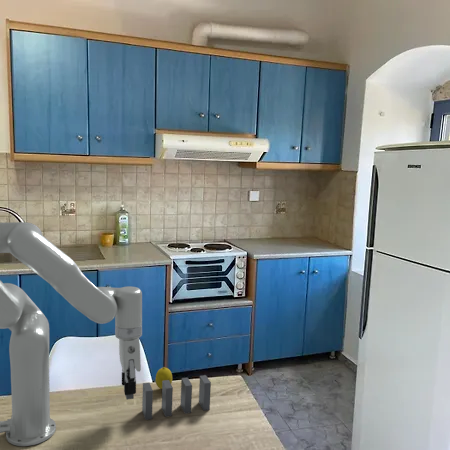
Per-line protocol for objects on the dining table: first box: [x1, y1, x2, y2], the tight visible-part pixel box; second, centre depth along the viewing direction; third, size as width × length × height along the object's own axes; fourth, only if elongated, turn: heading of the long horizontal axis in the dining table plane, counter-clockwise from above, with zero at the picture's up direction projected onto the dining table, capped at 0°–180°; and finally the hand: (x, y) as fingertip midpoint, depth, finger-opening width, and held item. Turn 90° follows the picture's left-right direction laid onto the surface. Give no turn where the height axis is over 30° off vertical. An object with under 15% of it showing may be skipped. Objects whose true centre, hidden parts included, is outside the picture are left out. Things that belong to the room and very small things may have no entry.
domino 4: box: [180, 377, 193, 415], centre depth 140 cm, size 2×5×9 cm, turn 20°
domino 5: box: [198, 374, 212, 412], centre depth 142 cm, size 2×5×9 cm, turn 21°
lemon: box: [155, 366, 173, 390], centre depth 151 cm, size 6×6×8 cm
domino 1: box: [123, 369, 135, 400], centre depth 133 cm, size 2×5×9 cm, turn 21°
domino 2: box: [141, 382, 154, 421], centre depth 136 cm, size 2×5×9 cm, turn 20°
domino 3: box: [161, 380, 174, 418], centre depth 138 cm, size 2×5×9 cm, turn 20°
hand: (128, 388), depth 133 cm, fingers closed on domino 1, 4 cm apart
